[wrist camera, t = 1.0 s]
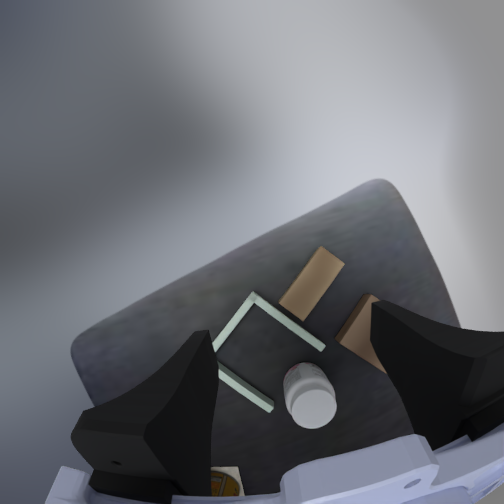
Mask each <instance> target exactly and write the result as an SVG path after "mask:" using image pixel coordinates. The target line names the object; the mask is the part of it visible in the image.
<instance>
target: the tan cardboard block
mask: <svg viewBox="0 0 504 504" xmlns="http://www.w3.org/2000/svg"><path fill="white" fill-rule="evenodd" d="M377 301H380V300H378V299H377V298H376V297H374V296H373V295H372V294H363V296H362V298H361V299H360V301H359V302H358V304H357V306H356V307H355V309H354V310H353V312H352V313H351V315H350V316H349V318H348V319H347V321H346V322H345V324H344V325H343V327H342V328H341V330H340V331H339V333H338V334H337V335H336V337H335V338H334V339H335V340H336V341H338V342H339V343H340V344H342V345H343V346H345V347H346V348H348V349H349V350H351V351H352V352H354V353H355V354H357V355H358V356H360V357H361V358H363V359H365V360H366V361H368V362H369V363H371V364H372V365H374V366H375V367H377V368H378V369H380V370H382V371H383V372H385V373H386V371H385V369H384V368H383V366H382V365H381V363H380V361H379V360H378V358H377V356H376V354H375V351H374V349H373V347H372V344H371V342H370V328H371V303H372V302H377ZM386 374H387V373H386Z"/></svg>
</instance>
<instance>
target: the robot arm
mask: <svg viewBox="0 0 504 504" xmlns="http://www.w3.org/2000/svg"><path fill="white" fill-rule="evenodd" d="M370 342H371V344H372V347H373V349H374V351H375V354H376V356H377V358H378V360H379V361H380V363H381V365H382V366H383V368H384V369H385V371H386V373H387V374H388V376H389V378H390V379H391V381H392V383H393V384H394V386H395V387H396V389H397V391H398V393H399V395H400V397H401V399H402V401H403V403H404V406H405V408H406V411H407V413H408V416H409V418H410V421H411V424H412V427H413V429H414V433H415V434H412V435H407V436H403V437H398V438H395V439H392V440H389V441H386V442H383V443H380V444H377V445H374V446H370V447H367V448H363V449H360V450H356V451H352V452H348V453H344V454H340V455H336V456H331V457H327V458H322V459H317V460H314V461H310V462H307V463H304V464H300V465H298V466H296V467H295V468H293V469H291V470H290V471H288V472H286V473H285V474H284V475H283V477H282V479H281V482H280V489H281V492H279V493H275V494H265V495H252V496H232V497H212V490H211V430H212V422H213V416H214V410H215V404H216V397H217V391H218V383H219V365H218V362H217V358H216V355H215V351H214V348H213V344H212V341H211V337H210V333H209V330H203V331H195V332H194V333H193V334H192V335H191V336H190V337H189V339H188V340H187V341H186V342H185V343H184V344H183V345H182V347H181V348H180V349H179V350H178V351H177V352H176V353H175V354H174V355H173V356H172V357H171V358H170V359H169V360H168V361H167V362H166V363H165V364H164V365H163V366H162V367H161V368H160V369H159V370H158V371H157V372H155V373H154V374H153V375H152V376H150V377H149V378H148V379H147V380H145V381H144V382H142V383H141V384H139V385H138V386H136V387H135V388H133V389H131V390H130V391H128V392H127V393H125V394H123V395H121V396H119V397H117V398H115V399H113V400H111V401H109V402H107V403H104V404H102V405H99V406H96V407H93V408H91V409H88V410H85V411H83V413H82V414H81V416H80V418H79V420H78V422H77V424H76V426H75V428H74V429H73V431H72V433H71V440H72V443H73V445H74V447H75V448H76V449H77V451H78V452H79V453H80V454H81V455H82V456H83V458H84V459H85V460H86V461H87V462H88V463H89V464H90V465H91V466H92V467H93V469H94V471H93V473H92V476H91V475H90V474H88V473H86V472H84V471H81V470H77V469H73V468H69V467H66V466H61V468H60V470H59V473H58V475H57V477H56V479H55V481H54V484H53V486H52V488H51V490H50V493H49V495H48V497H47V500H46V502H45V504H474V503H476V502H477V501H479V500H480V499H482V498H483V497H485V496H486V495H487V494H489V493H490V492H492V491H493V490H494V489H496V488H497V487H498V486H500V485H501V484H502V483H503V482H504V332H487V331H475V330H468V329H462V328H457V327H453V326H449V325H446V324H442V323H439V322H436V321H433V320H430V319H428V318H425V317H423V316H420V315H418V314H415V313H413V312H411V311H409V310H406V309H404V308H402V307H400V306H398V305H395V304H393V303H391V302H388V301H385V300H381V301H377V302H372V303H371V328H370Z"/></svg>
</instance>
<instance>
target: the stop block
mask: <svg viewBox="0 0 504 504" xmlns="http://www.w3.org/2000/svg"><path fill="white" fill-rule="evenodd" d="M343 266H344V263H343V262H342V261H340V260H339V259H338V258H336V257H335V256H334V255H333V254H331V253H330V252H329V251H327V250H326V249H325V248H323V247H322V246H320V247H319V248H318V249H317V250H316V251H315V252H314V254H313V255H312V257H311V258H310V259H309V261H308V262H307V264H306V265H305V266H304V268H303V269H302V270H301V272H300V273H299V274H298V276H297V277H296V279H295V280H294V281H293V283H292V284H291V285H290V287H289V288H288V289H287V291H286V292H285V293H284V295H283V296H282V297H281V299H280V300H279V301H278V303H279V304H281V305H282V306H283V307H285V308H286V309H287V310H289V311H290V312H291V313H293V314H294V315H295V316H297V317H298V318H299V319H301V320H302V321H304V320H305V318H306V317H307V316H308V314H309V313H310V312H311V310H312V309H313V308H314V306H315V305H316V304H317V302H318V301H319V300H320V298H321V297H322V295H323V294H324V293H325V291H326V290H327V288H328V287H329V286H330V284H331V283H332V281H333V280H334V279H335V277H336V276H337V274H338V273H339V271H340V270H341V269H342V267H343Z"/></svg>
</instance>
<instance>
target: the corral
mask: <svg viewBox="0 0 504 504" xmlns="http://www.w3.org/2000/svg"><path fill="white" fill-rule="evenodd" d="M254 303H255V304H257V305H258V306H259V307H261V308H262V309H263V310H265V311H266V312H267V313H269V314H270V315H271V316H273V317H274V318H275V319H277V320H278V321H279V322H281V323H282V324H284V325H285V326H286V327H288V328H289V329H290V330H292V331H293V332H294V333H296V334H297V335H299V336H300V337H301V338H303V339H304V340H305V341H307V342H308V343H310V344H311V345H312V346H314V347H315V348H316V349H318V350H319V351H321V352H322V350H323V349H324V348H325V346H326V345H325V344H324V343H323V342H321V341H320V340H319V339H317V338H316V337H315V336H313V335H312V334H310V333H309V332H308V331H306V330H305V329H304V328H302V327H301V326H299V325H298V324H297V323H295V322H294V321H293V320H291V319H290V318H289V317H287V316H286V315H285V314H283V313H282V312H281V311H279V310H278V309H277V308H275V307H274V306H273V305H271V304H270V303H269V302H267V301H266V300H265V299H263V298H262V297H261V296H259V295H258V294H257V293H255V292H254V291H253V292H252V293H251V294H250V295H249V297H248V298H247V299H246V301H245V302H244V303H243V305H242V306H241V307H240V308H239V310H238V311H237V312H236V314H235V315H234V316H233V318H232V319H231V320H230V321H229V323H228V324H227V325H226V327H225V328H224V329H223V330H222V332H221V333H220V334H219V336H218V337H217V338H216V339H215V341H214V342H213V343H212V344H213V348H214V351H215V352H216V351H217V350H218V349H219V347H220V346H221V345H222V344H223V342H224V341H225V340H226V338H227V337H228V336H229V335H230V333H231V332H232V331H233V330H234V328H235V327H236V326H237V324H238V323H239V322H240V321H241V319H242V318H243V317H244V315H245V314H246V313H247V312H248V310H249V309H250V308H251V306H252V305H253V304H254ZM217 362H218V361H217ZM218 365H219V378H220V379H222V380H223V381H224V382H226V383H227V384H228V385H230V386H231V387H232V388H234V389H235V390H237V391H238V392H239V393H241V394H242V395H244V396H245V397H247V398H248V399H249V400H251V401H252V402H254V403H255V404H257V405H258V406H260V407H261V408H263V409H264V410H266V411H267V412H269V413H270V412H271V411H272V410H273V408H274V401H273V400H271V399H270V398H268V397H267V396H265V395H264V394H262V393H261V392H259V391H258V390H257V389H255V388H254V387H252V386H251V385H249V384H248V383H247V382H245V381H244V380H242V379H241V378H240V377H238V376H237V375H236V374H234V373H233V372H231V371H230V370H229V369H227V368H226V367H225V366H223V365H222V364H221V363H219V362H218Z"/></svg>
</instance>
